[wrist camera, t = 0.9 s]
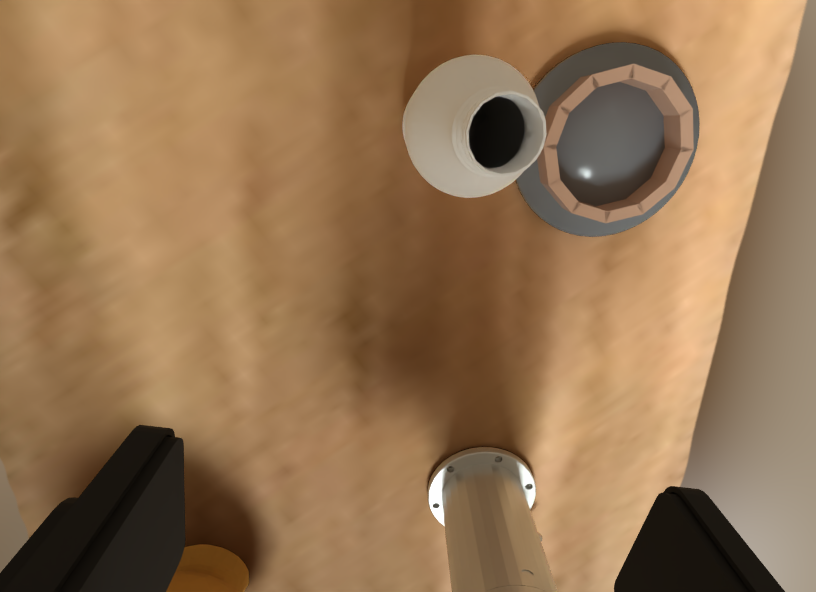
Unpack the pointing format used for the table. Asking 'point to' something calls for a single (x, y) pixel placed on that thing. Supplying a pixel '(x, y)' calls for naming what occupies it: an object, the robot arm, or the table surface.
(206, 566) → the decorative bowl
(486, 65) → the water bottle
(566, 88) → the ring plate
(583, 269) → the table surface
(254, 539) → the table surface
